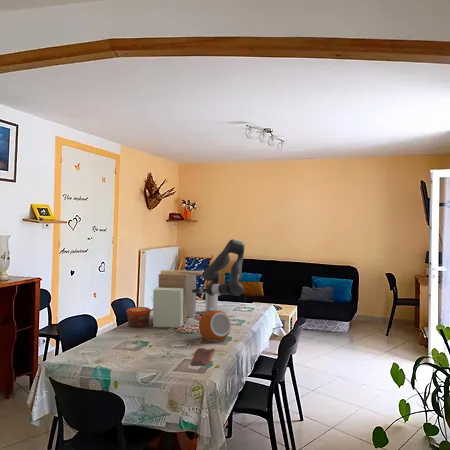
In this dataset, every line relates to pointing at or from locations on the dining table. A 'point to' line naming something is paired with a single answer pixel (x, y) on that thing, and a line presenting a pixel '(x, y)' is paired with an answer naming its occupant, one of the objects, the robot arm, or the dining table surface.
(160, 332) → the dining table surface
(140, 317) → the food container
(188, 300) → the grey tall block
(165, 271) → the oak strip
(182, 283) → the tall wooden block
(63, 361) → the dining table surface
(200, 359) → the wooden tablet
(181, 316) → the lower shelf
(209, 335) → the alarm clock
